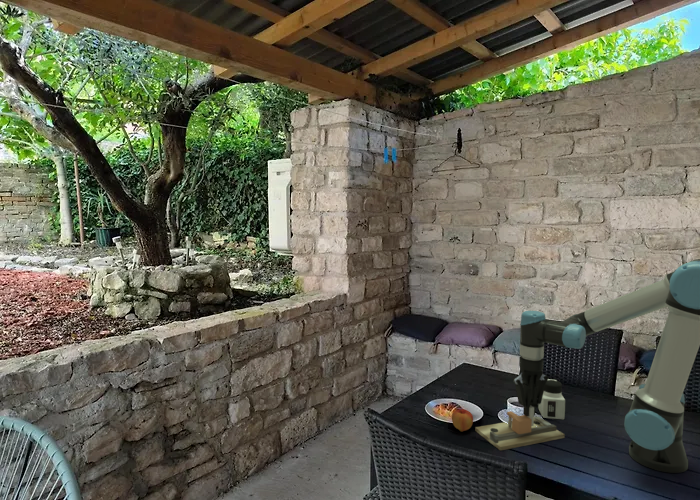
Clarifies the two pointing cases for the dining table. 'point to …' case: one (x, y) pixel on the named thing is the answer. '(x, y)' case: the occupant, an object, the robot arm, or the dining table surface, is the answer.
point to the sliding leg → (519, 423)
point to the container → (552, 401)
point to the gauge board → (508, 438)
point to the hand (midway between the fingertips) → (528, 424)
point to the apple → (462, 419)
